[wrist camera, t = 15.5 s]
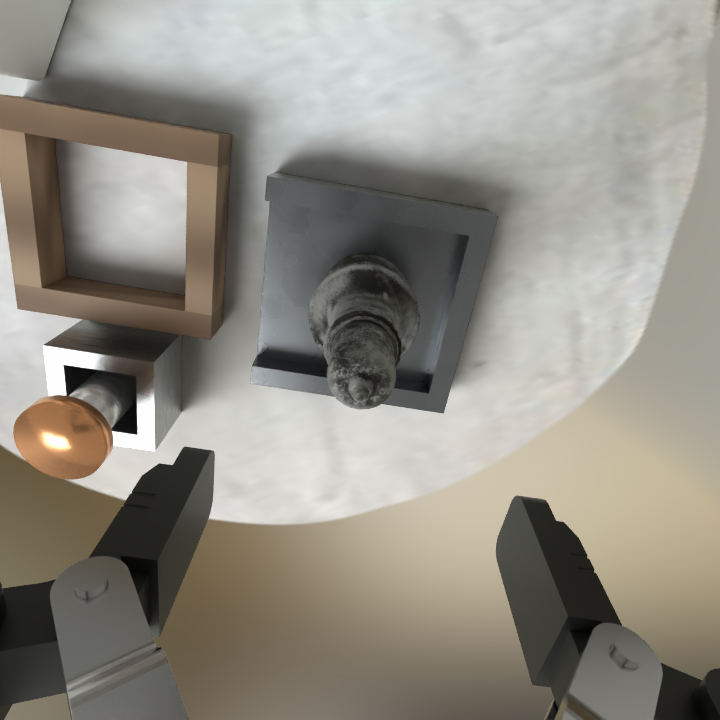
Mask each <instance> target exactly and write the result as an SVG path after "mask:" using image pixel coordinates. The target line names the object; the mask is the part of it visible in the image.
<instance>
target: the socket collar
mask: <svg viewBox="0 0 720 720" xmlns="http://www.w3.org/2000/svg"><path fill="white" fill-rule="evenodd" d="M55 138H56V139H61V140H67V141H73V142H78V143H84V144H90V145H95V146H101V147H107V148H112V149H118V150H124V151H129V152H135V153H141V154H146V155H152V156H158V157H163V158H169V159H175V160H180V161H186V162H188V163H187V225H186V287H185V295H178V294H172V293H166V292H160V291H154V290H148V289H141V288H135V287H129V286H123V285H117V284H111V283H105V282H98V281H92V280H86V279H80V278H74V277H68V276H67V274H66V262H65V251H64V240H63V228H62V217H61V206H60V195H59V183H58V172H57V161H56V149H55ZM231 142H232V134H226V133H221V132H215V131H209V130H204V129H198V128H193V127H187V126H182V125H176V124H171V123H165V122H160V121H154V120H148V119H143V118H137V117H132V116H126V115H121V114H115V113H110V112H104V111H98V110H93V109H87V108H82V107H76V106H71V105H65V104H60V103H54V102H48V101H43V100H37V99H32V98H26V97H20V96H10V95H1V94H0V182H1V189H2V197H3V204H4V211H5V219H6V226H7V234H8V241H9V248H10V256H11V263H12V270H13V278H14V285H15V293H16V300H17V307H18V309H21V310H28V311H34V312H40V313H46V314H53V315H59V316H65V317H72V318H78V319H84V320H91V321H97V322H103V323H110V324H116V325H122V326H129V327H135V328H141V329H148V330H154V331H160V332H166V333H173V334H179V335H185V336H192V337H198V338H204V339H211V338H212V337H213V336H214V334H215V333H216V332H217V331H218V329H219V328H220V327H221V325H222V321H223V301H224V281H225V261H226V242H227V222H228V202H229V182H230V162H231Z"/></svg>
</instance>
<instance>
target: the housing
mask: <svg viewBox="0 0 720 720" xmlns="http://www.w3.org/2000/svg"><path fill="white" fill-rule="evenodd" d="M43 350H44V358H45V367H46V376H47V384H48V393H49V396H52V395H67V396H69V395H70V394H71V393H73V392H74V391H75V390H76V389H77V388H78V387H79V386H81V385H82V384H83V383H84V382H85V381H86V380H87V379H89V378H90V377H91V376H92V375H93V374H94V373H95V372H97V371H98V370H101V371H108V372H115V373H121V374H128V375H134V376H136V392H137V400H136V401H135V402H134V403H133V404H132V406H131V407H130V408H129V409H128V410H127V411H126V412H125V414H124V415H123V416H122V417H121V418H120V419H119V420H118V422H117V423H116V424H115V425H114V426H113V427H112V428H111V429H112V432H113V438H114V443H113V445H114V446H121V447H128V448H135V449H142V450H149V451H156V449H157V448H158V446H159V445H160V443H161V442H162V440H163V439H164V437H165V436H166V434H167V433H168V431H169V430H170V428H171V427H172V426H173V424H174V423H175V421H176V420H177V418H178V417H179V415H180V414H181V384H182V335H179V334H173V333H166V332H160V331H154V330H148V329H141V328H135V327H129V326H122V325H116V324H110V323H103V322H97V321H91V320H84V319H83V320H81V321H80V322H78V323H77V324H75V325H74V326H72V327H71V328H69V329H68V330H66V331H65V332H63V333H61V334H60V335H58V336H57V337H55V338H54V339H52V340H51V341H49V342H48V343H46V344H44V345H43Z"/></svg>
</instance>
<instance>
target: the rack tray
mask: <svg viewBox="0 0 720 720" xmlns="http://www.w3.org/2000/svg"><path fill="white" fill-rule="evenodd" d="M265 200H266V201H270V209H269V220H268V232H267V244H266V256H265V268H264V279H263V291H262V303H261V315H260V327H259V338H258V350H257V357H256V359H255V361H254V363H253V365H252V369H251V382H250V384H256V385H263V386H269V387H276V388H282V389H289V390H295V391H302V392H308V393H315V394H321V395H328V396H334V395H333V394H332V392H331V390H330V387H329V385H328V381H327V369H328V363H327V361H326V358H325V356H324V353H323V352H322V351H321V349H320V348H319V347H318V345H317V344H316V343H315V341H314V339H313V336H312V334H311V331H310V328H309V320H308V312H309V306H310V301H311V299H312V297H313V295H314V292H315V290H316V288H317V287H318V286H319V285H320V284H321V283H322V281H323V280H324V279H325V277H326V275H327V273H328V272H329V271H330V270H331V269H332V267H333V266H334V265H335V264H337V263H338V262H340V261H341V260H343V259H344V258H347V257H350V256H353V255H356V254H372V255H377V256H381V257H383V258H385V259H387V260H389V261H391V262H392V263H393V264H394V265H395V266H396V267H398V268H399V269H400V271H401V272H402V274H403V275H404V277H405V278H406V281H407V283H408V284H409V286H410V288H411V289H412V291H413V292H414V294H415V295H416V299H417V302H418V305H419V308H420V325H419V329H418V332H417V336H416V338H415V340H414V341H413V343H412V345H411V347H410V348H409V349H408V350H407V351H406V352H405V353H404V354H403V355H402V356H401V358H400V362H399V363H398V365H397V367H396V382H395V386H394V389H393V391H392V393H391V395H390V396H389V398H388V399H387V400H386V401H385V402H384V403H382V404H386V405H392V406H399V407H405V408H412V409H418V410H425V411H431V412H438V413H444V410H445V407H446V403H447V399H448V396H449V392H450V389H451V385H452V381H453V378H454V374H455V371H456V367H457V363H458V360H459V356H460V352H461V349H462V345H463V342H464V338H465V334H466V331H467V327H468V324H469V320H470V316H471V313H472V309H473V305H474V302H475V298H476V295H477V291H478V287H479V284H480V280H481V276H482V273H483V269H484V266H485V262H486V258H487V255H488V251H489V248H490V244H491V240H492V237H493V233H494V229H495V226H496V222H497V219H498V216H496V215H495V214H493V213H492V212H490V211H489V210H486V209H481V208H475V207H469V206H464V205H458V204H452V203H447V202H441V201H435V200H430V199H424V198H418V197H413V196H407V195H401V194H396V193H390V192H385V191H379V190H373V189H368V188H362V187H356V186H351V185H345V184H339V183H334V182H328V181H322V180H317V179H311V178H305V177H300V176H294V175H288V174H283V173H277V172H275V173H273V174H270V175H268V176H267V183H266V195H265ZM334 397H335V396H334Z"/></svg>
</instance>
